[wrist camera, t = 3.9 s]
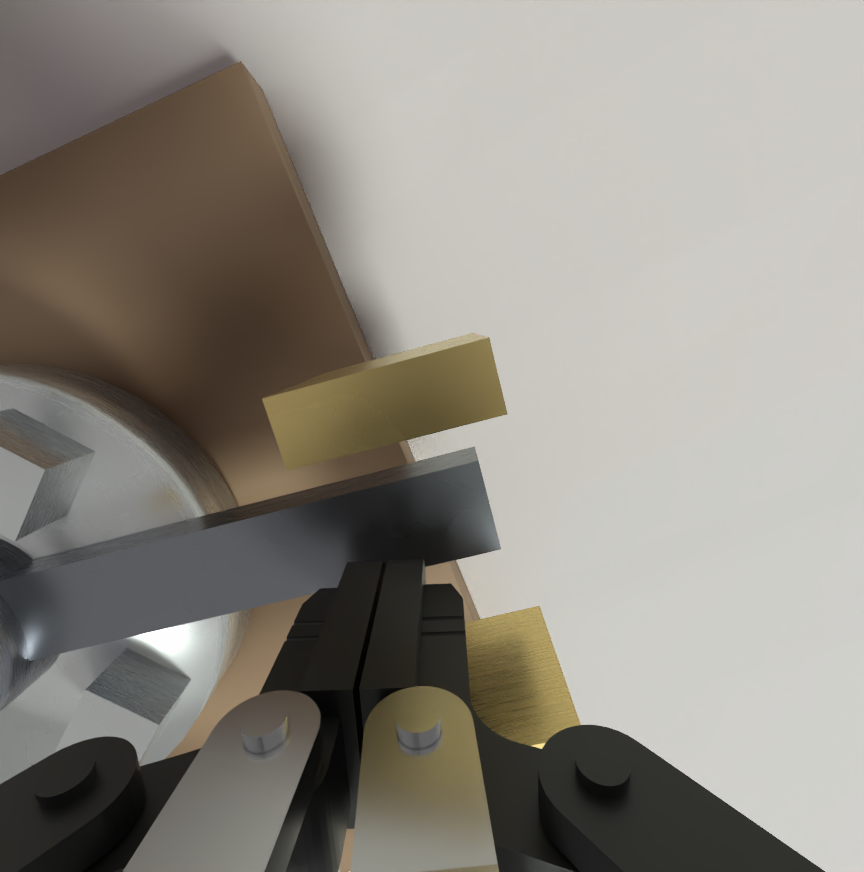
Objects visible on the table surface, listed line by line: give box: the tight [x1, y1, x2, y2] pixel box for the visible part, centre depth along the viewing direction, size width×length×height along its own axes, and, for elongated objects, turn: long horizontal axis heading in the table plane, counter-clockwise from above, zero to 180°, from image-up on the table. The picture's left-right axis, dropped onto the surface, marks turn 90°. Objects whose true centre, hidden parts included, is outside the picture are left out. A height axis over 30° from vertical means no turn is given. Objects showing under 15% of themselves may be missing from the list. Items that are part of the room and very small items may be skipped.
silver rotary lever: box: [0, 333, 580, 784], centre depth 11 cm, size 12×20×7 cm, turn 105°
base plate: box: [0, 62, 480, 872], centre depth 16 cm, size 24×18×2 cm
